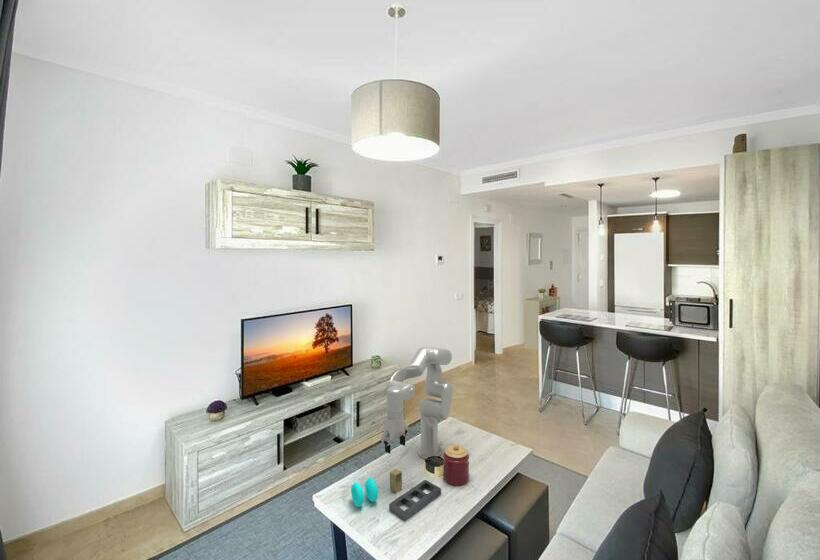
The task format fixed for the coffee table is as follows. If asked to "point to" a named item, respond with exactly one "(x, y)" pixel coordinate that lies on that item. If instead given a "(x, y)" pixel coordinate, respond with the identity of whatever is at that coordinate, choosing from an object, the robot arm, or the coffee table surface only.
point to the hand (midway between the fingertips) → (395, 448)
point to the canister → (456, 465)
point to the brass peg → (395, 480)
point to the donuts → (359, 494)
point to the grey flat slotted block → (413, 505)
